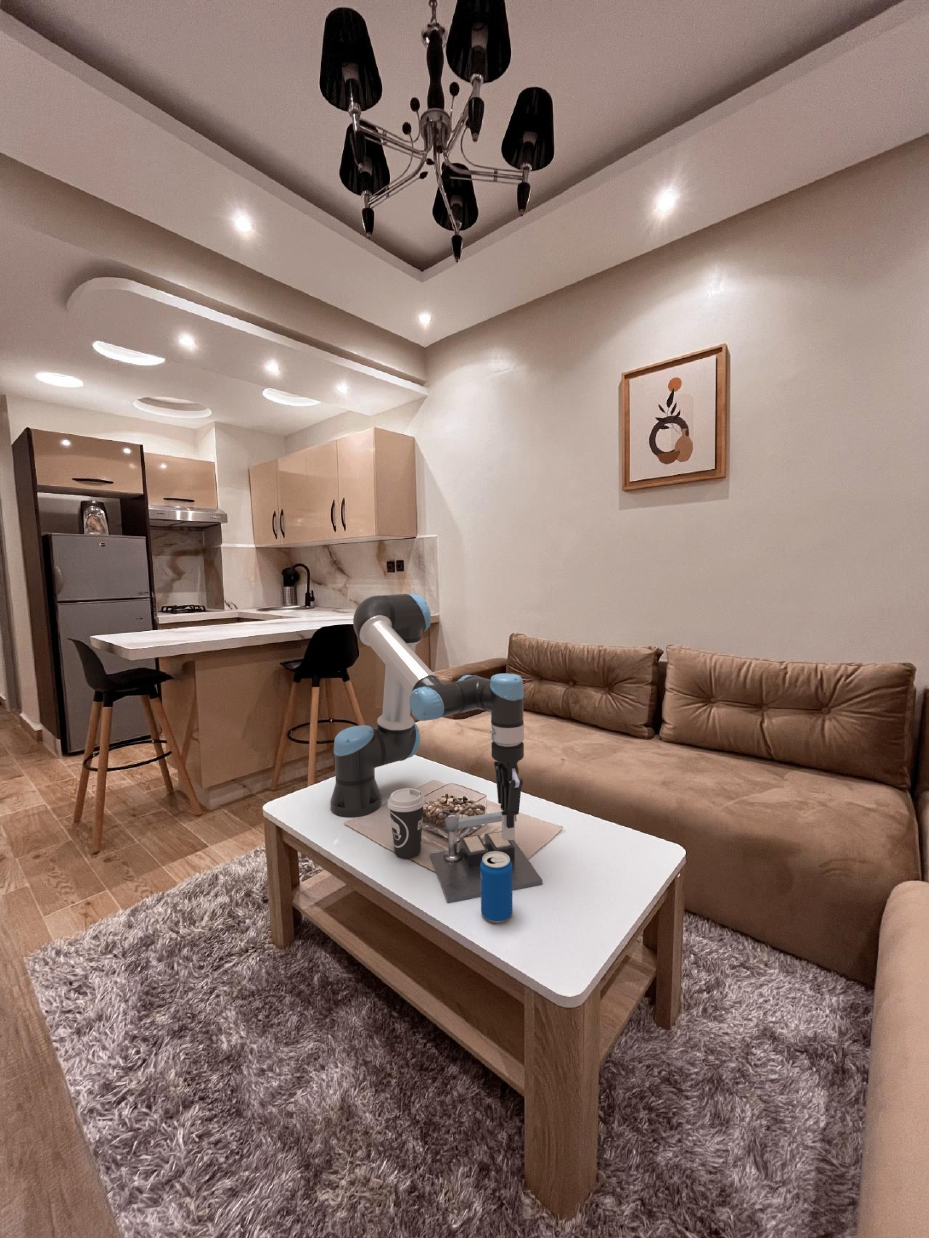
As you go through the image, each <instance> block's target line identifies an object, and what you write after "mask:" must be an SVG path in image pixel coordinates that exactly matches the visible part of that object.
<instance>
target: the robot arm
mask: <svg viewBox="0 0 929 1238" xmlns="http://www.w3.org/2000/svg"><path fill="white" fill-rule="evenodd" d="M352 621H353V622H352V623H353V624H352V625H353V629H354V632H355V634H356V637H357V638H358V639H359V640H360V641H361V643H362V644H363V645H365V646H368V647H371V648H372V650H373V651H374V652H375V654H376V655H377V656H378V657H379V659H381V660H382V663H384V664H385V673H384V674H385V675H384V685H383V701H382V714H381V715H380V716H379V717H378V718H377V719H376V720H377V721H376V727H375V728H373V727H372V726H370V725H366V724H365V725H364V724H360V725H355V726H350V727H347V728H344V729H342V730H341V731H339V732H338V733H337V735H336V736H335V738H334V742H333V743H334V744H333V745H334V746H333V754H334V755H333V757H334V771H335V773H334V774H335V776H334V777H335V784H334V788H333V791H332V795H331V799H330V811H331V812H332V813H333V814H334V815H337V816H340V817H346V818H347V817H349V818H353V817H354V818H355V817H363V816H366V815H370V814H371V813H373V812H375V811H376V810H378V809H379V808H380V807H381V806H382V794H381V791H380V789H379V786H378V783H377V781H376V777H375V775H376V774H375V773H376V771H375V769H376V768H379V767H383V766H387V765H390V764H392V763H397V762H402V761H405V760H407V759H410V758H412V757H414V756H415V755H416V754H417V753H418V751H419V749H420V745H421V734H420V733H419V732H420V729H419V726H418V725H417V724H416V722H415V720H414V719H413V717H414V718H415V719H416V720H417V721H419V722H426V721H435V720H438V719H441V718H446V717H448V716H453V715H456V714H463V713H466V712H469V711H474V710H481V711H484V712H488V713H490V716H491V717H490V725H491V728H489V733H490V734H491V740H492V742H491V750H490V751H491V752H490V753H491V758H492V759H493V760H495V761H494V762H493V766H494V769H495V771H494V772H495V779H496V782H495V783H496V792H497V803H498V804H499V805H500V810H501V811H500V812H501V813H502V821H501V831H502V838H503V840H504V841H505V840H513V839H514V840H515V839H516V829H515V827H516V821H515V815H516V816H518V815H519V814H520V813H519V812H520V803H521V802H520V801H521V792H522V786H523V784H524V781H523V779H522V778H519V777H518V775H519V766H518V763H519V762H520V761H522V760H523V759H524V757H525V749H524V747H525V745H524V744H525V743H524V740H525V723H524V702H525V701H524V700H525V699H524V698H525V690H524V680H523V678H522V677H521V676H520V675H518V674H515V673H507V672H506V673H497V674H493V675H492V676H491V677H490V679H489V678H485V677H481V676H478V675H476V674H474V675H471V674H467V675H462V677H460V678H459V679H458V680H457V681H450V682H445V683H443V682H442V680H440V679H439V677H438V676H436V675H435V673H434V672H433V671H432V670H431V669H430V668H429V667H428V666H427V664H425V662H424V661H423V660H422V659H421V658H420V657H419V655H417V654H416V646H417V645H418V644H419V643H421V641H422V633H424V632H427V631H428V630H429V628H430V626H431V623H432V614H431V609H430V606H429V604H428V602H427V601H426V599H425V598H423V597H422V596H421V595H420V594H413V593H412V594H411V593H400V594H384V595H381V594H380V595H379V594H378V595H372V596H369V597H367V598H366V599H364V600H363V601H362V602H361V601H360V603H359V605H358V606H357V607H356V609H355V611H354V614H353V619H352ZM411 714H412V716H413V717H412V716H411Z"/></svg>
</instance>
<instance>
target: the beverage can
mask: <svg viewBox="0 0 929 1238" xmlns="http://www.w3.org/2000/svg"><path fill="white" fill-rule="evenodd" d="M480 877H481V897H480V913H481V915H482V916H483V917H484V918H485V919H486V920H487V921H489V922H491V923H497V924H500V923H503V922H506V921H507V920H509V919H510V918H511V917H512V915H513V912H514V911H513V909H514V908H513V890H512V863H511V861H510V858H509V856H508V855H507V854H505V853H503V852H499V851H493V852H489V853H486V854H485V855H484V856H483V858H482V861H481V864H480Z"/></svg>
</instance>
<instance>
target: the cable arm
mask: <svg viewBox="0 0 929 1238" xmlns="http://www.w3.org/2000/svg"><path fill="white" fill-rule="evenodd" d="M501 812H502V811H496V812H489V813H483V814H475V815H470V816H469V815H468V816H464V817H457V816H455V815H451V816H448V817H446V818H445V829H446V830H447V831H448V830H450V831H454V830H456V831H457V830H458V829H462V828H469V827H473V826H480V825H481V826H482V825H488V824H494V823H500V822H501V823H502V813H501ZM515 822H517V815H515Z"/></svg>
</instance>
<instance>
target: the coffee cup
mask: <svg viewBox="0 0 929 1238" xmlns="http://www.w3.org/2000/svg"><path fill="white" fill-rule="evenodd" d="M425 799H426V798H425V796H424V795H423V793H422V791H421V790H419V789H416V788H411V787H410V788H409V787H407V788H399V789H397V790H394V791H393V792H391V793H390V796H389V798H388V799H387V803H386V804H387V808H388V809H389V815H390V816H389V817H390V822H391V823H390V826H391V830H392V831H391V832H392V839H393V841H392V842H393V847H394V850H393V851H394V855H395V857H396V858H398V859H401V860H411V859H414V858H417V857H418V856H419V855H420V854H421V851H422V837H423V819H424V818H423V817H424V807H425V805H426V800H425Z"/></svg>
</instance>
